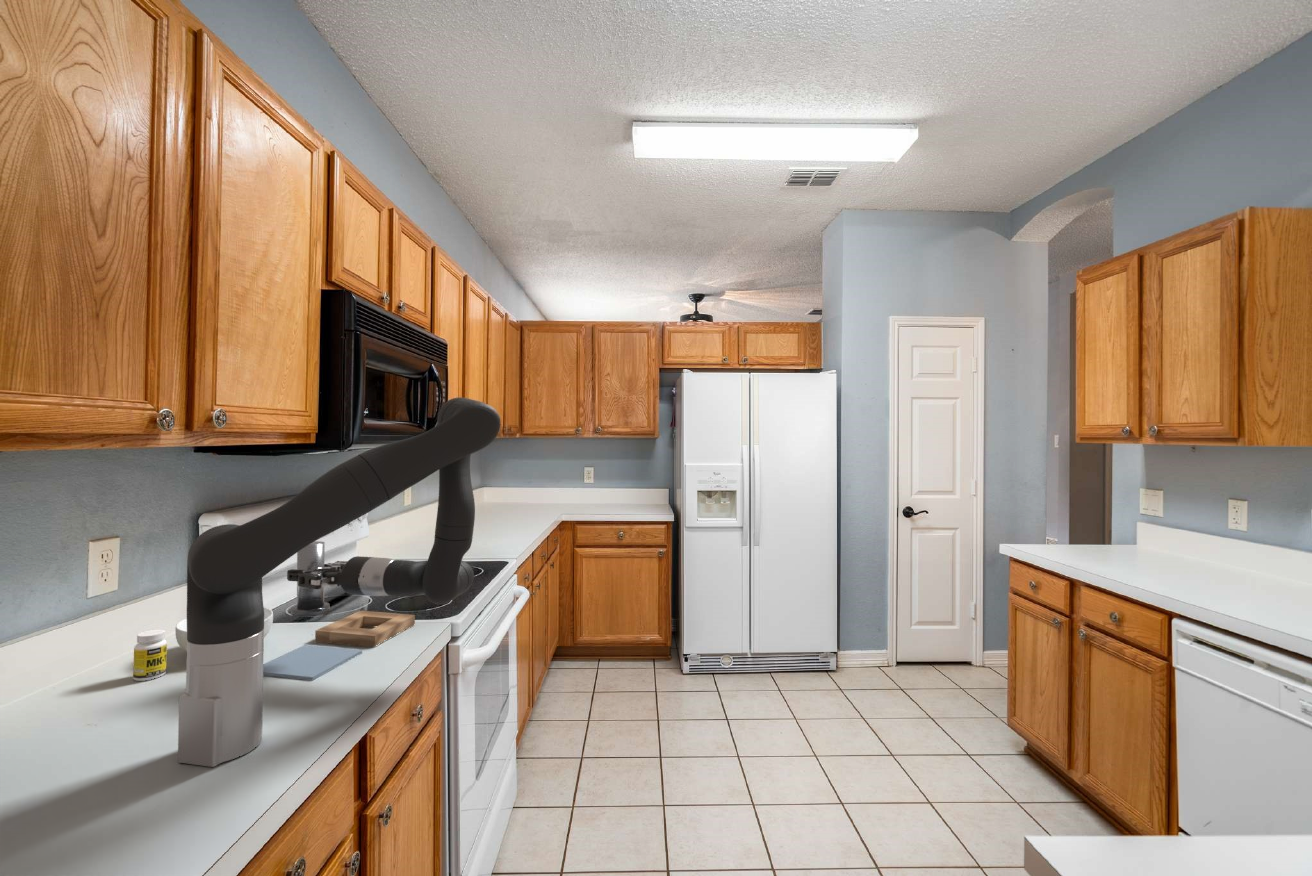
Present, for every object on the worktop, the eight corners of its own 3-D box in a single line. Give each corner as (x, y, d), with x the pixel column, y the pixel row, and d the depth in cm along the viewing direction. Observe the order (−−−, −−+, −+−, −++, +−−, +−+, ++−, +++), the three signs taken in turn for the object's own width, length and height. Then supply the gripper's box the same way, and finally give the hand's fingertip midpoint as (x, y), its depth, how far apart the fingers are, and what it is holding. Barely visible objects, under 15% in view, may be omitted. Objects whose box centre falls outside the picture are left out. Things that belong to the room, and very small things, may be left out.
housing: (374, 647, 126) (375, 636, 126) (315, 641, 128) (315, 630, 128) (414, 625, 141) (414, 615, 141) (360, 620, 143) (360, 610, 143)
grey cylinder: (312, 617, 113) (312, 547, 113) (282, 615, 114) (283, 546, 114) (337, 607, 119) (337, 541, 119) (308, 605, 121) (309, 539, 121)
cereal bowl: (155, 658, 117) (155, 624, 117) (237, 632, 133) (237, 602, 133) (212, 671, 112) (212, 635, 112) (290, 642, 127) (291, 611, 127)
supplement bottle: (146, 683, 106) (147, 638, 106) (126, 680, 107) (127, 635, 107) (172, 672, 111) (173, 629, 111) (153, 670, 112) (154, 627, 112)
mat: (312, 680, 109) (312, 677, 109) (249, 673, 111) (249, 670, 111) (362, 652, 122) (362, 650, 122) (305, 647, 125) (305, 644, 125)
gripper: (395, 550, 121) (324, 546, 124) (348, 565, 107) (270, 561, 110) (395, 585, 121) (324, 581, 124) (348, 605, 107) (269, 599, 110)
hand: (299, 571), depth 117 cm, fingers closed on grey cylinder, 4 cm apart
